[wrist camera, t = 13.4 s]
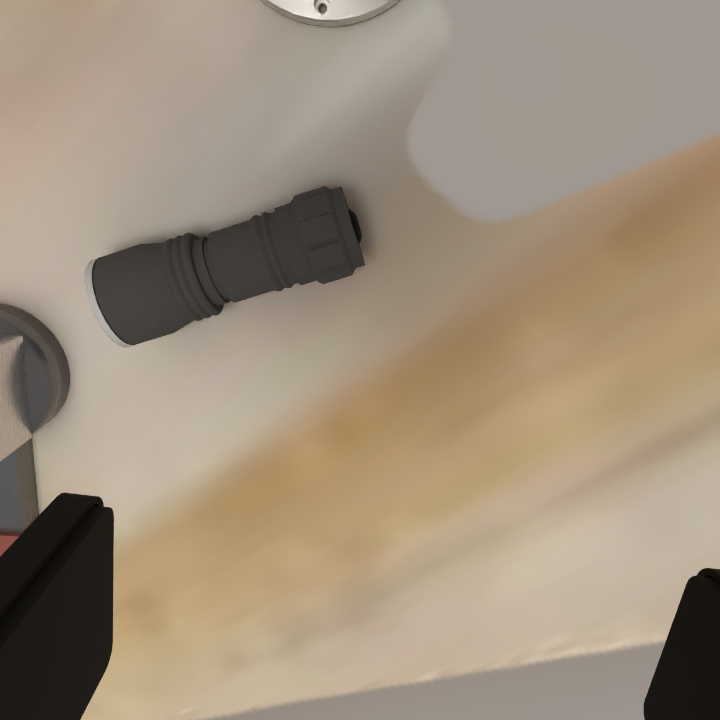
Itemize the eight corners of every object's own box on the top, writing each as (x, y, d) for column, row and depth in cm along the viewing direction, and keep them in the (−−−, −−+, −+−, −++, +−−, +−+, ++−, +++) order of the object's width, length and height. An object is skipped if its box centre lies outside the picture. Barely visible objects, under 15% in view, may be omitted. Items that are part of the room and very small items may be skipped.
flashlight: (345, 177, 35) (343, 176, 30) (371, 263, 37) (374, 276, 32) (111, 254, 37) (71, 266, 31) (146, 334, 38) (112, 358, 33)
